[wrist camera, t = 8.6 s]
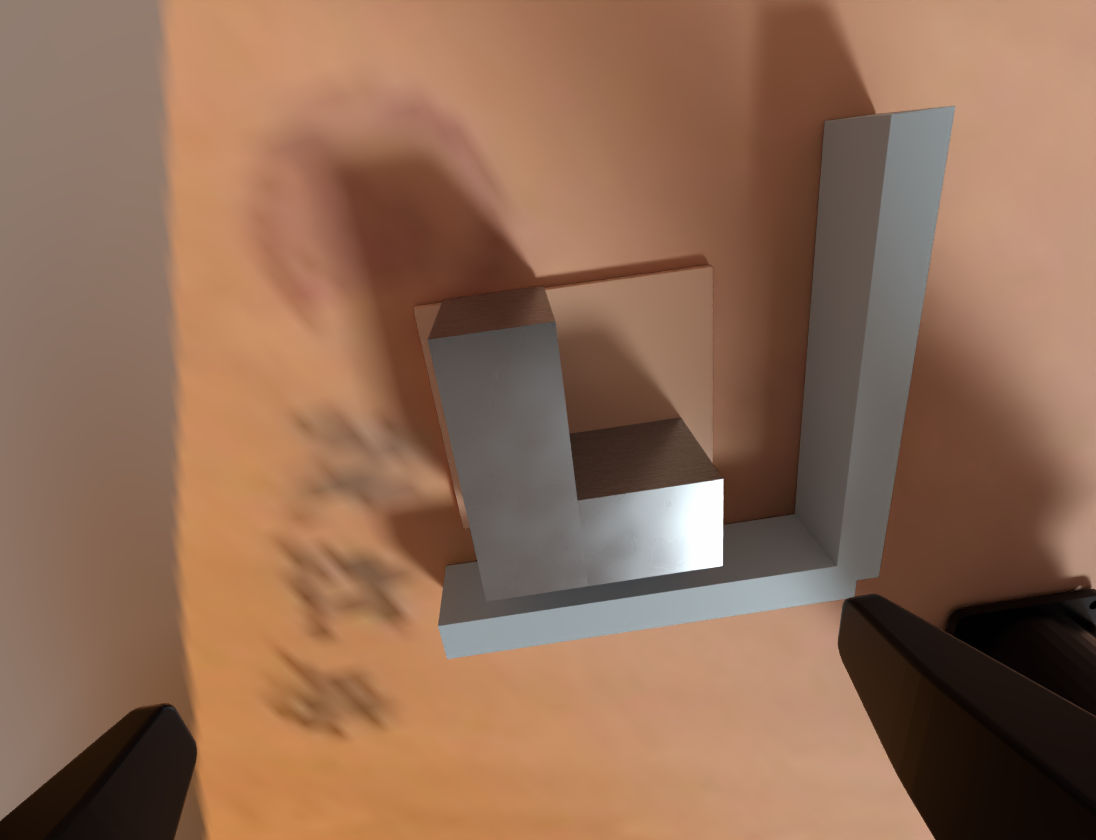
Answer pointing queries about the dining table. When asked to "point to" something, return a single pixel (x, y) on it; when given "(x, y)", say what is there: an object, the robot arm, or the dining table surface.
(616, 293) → the tile
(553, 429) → the bracket
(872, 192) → the corner wall
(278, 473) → the dining table surface
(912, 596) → the dining table surface
